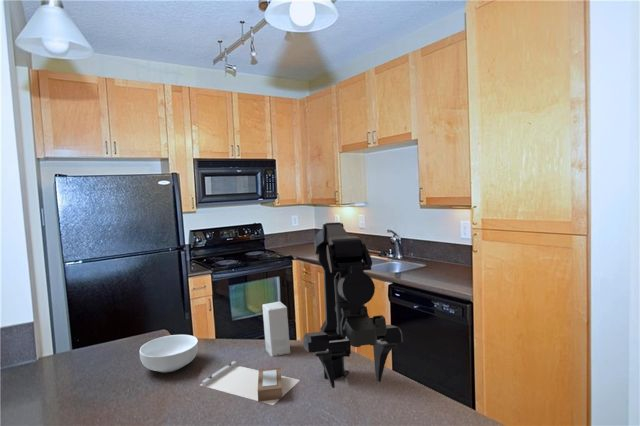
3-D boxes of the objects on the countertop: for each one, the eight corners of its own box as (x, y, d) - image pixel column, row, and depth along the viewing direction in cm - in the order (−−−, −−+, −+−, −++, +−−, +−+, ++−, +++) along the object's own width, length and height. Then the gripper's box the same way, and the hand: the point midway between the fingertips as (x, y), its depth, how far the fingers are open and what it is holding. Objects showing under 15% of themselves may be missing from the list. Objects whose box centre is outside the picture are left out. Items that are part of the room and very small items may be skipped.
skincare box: (290, 355, 122) (288, 307, 121) (270, 359, 119) (267, 310, 118) (283, 345, 129) (281, 300, 128) (264, 349, 127) (261, 303, 126)
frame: (259, 379, 105) (258, 369, 105) (281, 377, 106) (280, 366, 106) (258, 401, 94) (257, 389, 94) (282, 398, 95) (281, 387, 95)
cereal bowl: (187, 379, 109) (186, 355, 108) (130, 381, 109) (128, 357, 108) (206, 353, 126) (205, 332, 125) (156, 355, 126) (155, 334, 125)
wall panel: (231, 366, 115) (231, 358, 115) (300, 382, 104) (299, 374, 104) (200, 387, 104) (199, 378, 103) (273, 408, 93) (272, 398, 92)
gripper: (311, 308, 66) (317, 404, 63) (411, 299, 70) (420, 389, 67) (300, 304, 76) (305, 386, 74) (387, 296, 81) (394, 374, 78)
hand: (356, 384), depth 73 cm, fingers open, 9 cm apart
